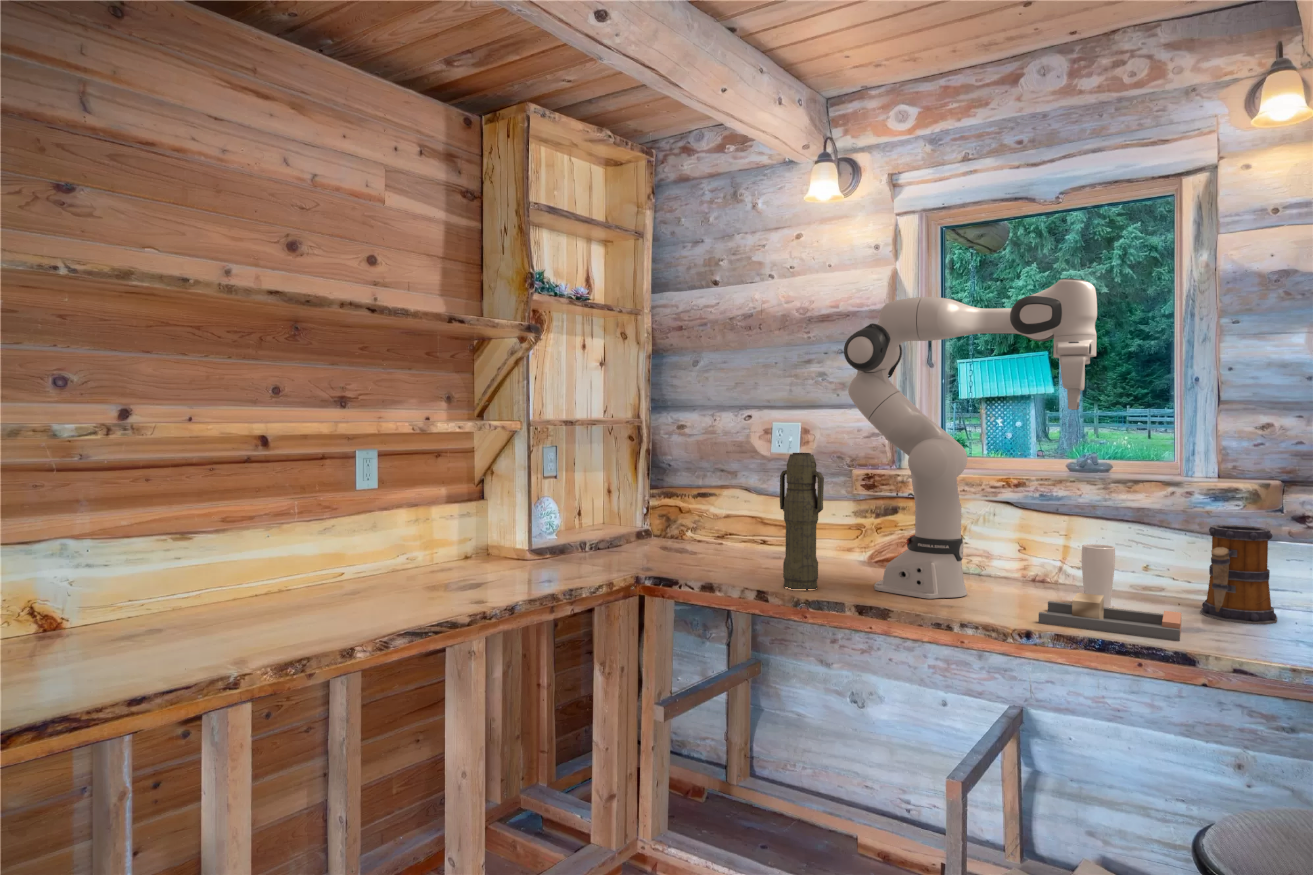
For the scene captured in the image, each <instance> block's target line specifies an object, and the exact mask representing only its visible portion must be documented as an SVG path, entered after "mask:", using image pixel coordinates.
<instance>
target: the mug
mask: <svg viewBox="0 0 1313 875" xmlns="http://www.w3.org/2000/svg"><path fill="white" fill-rule="evenodd" d="M1208 532H1209V535H1210V536H1211V540H1212V541H1211V550H1210V551H1211V557H1210V563H1211V564H1209V567H1208V568H1209V572H1208V573H1209V582H1208V588H1207V595H1206V596H1207V597H1206V599H1205V600H1204V601H1203V602H1202V604H1201V607H1202V608H1201V609H1200V611H1199V613H1200V614H1201V615H1203V616H1205V617H1207V618H1211V619H1215V620H1218V621H1222V622H1228V623H1229V622H1230V623H1235V624H1245V625H1263V626H1264V625H1266V626H1267V625H1271V624H1273V625H1274V624H1277V623H1278V617H1277V614H1276V613H1275V608H1274V607H1272V602H1271V592H1270V569H1269V568H1268V563H1269V562H1268V557H1269V555H1268V554H1269V552H1268V551H1269V541H1270V540H1272V538H1273V534H1272V533H1271V528H1267V527H1262V526H1255V525H1241V524H1211V526H1209V529H1208Z"/></svg>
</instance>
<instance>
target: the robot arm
mask: <svg viewBox="0 0 1313 875" xmlns="http://www.w3.org/2000/svg"><path fill="white" fill-rule="evenodd" d="M1097 318H1098V300H1097V290H1096V288H1095V286H1094V285H1093V284H1092V283H1091V282H1089V281H1087V280H1085V279H1080V278H1079V279H1078V278H1072V277H1071V278H1069V277H1067V278H1061V279H1059V280H1058V281H1056V282H1055V283H1054V284H1053V285H1051V286H1050V287H1048V288H1046V289H1044V290H1042V291H1038V292H1037V293H1032V294H1031V295H1030V294H1029V295H1027V296H1026V295H1025V296H1024V297H1022V298H1020V299H1018V300H1017V301H1016V302H1015V303H1014V304H1013V306H1011V307H1009V308H1007V307H1006V308H1004V307H1002V308H1001V307H1000V308H982V307H977V306H976V307H975V306H973V305H968V304H966V303H963V302H960V301H957V300H955V299H952V298H946V297H939V296H920V297H917V296H916V297H907V298H902V299H896V300H892V301H889V302H887V303H885V304H884V305H883V306H882V308H881V309H880V311H879V314H878V323H875V322H874V323H869V324H867V325H866V326H864V327H863V328H861V329H859V330H857V331H856V332H854V333H853V334H851V335H850V336H849V337H848V338H847V339H846V342H845V344H844V345H843V346H844V347H843V356H844V358H845V360H846V362H847V364H848V365H849V366H850V367H852V368H853V369H854V370H857V371H856V375H855V376H854V377H853V379H852V380H851V381H850V383H849V385H848V390H847V392H848V397H849V398H850V400H851V401H852V402H853V404H854V406H856V408H857V409H858V411H859V412H860V413H861V414H862V415H863V417H865V419H866V420H867V421H868V422H869V423H870V424H871V425H872V426H873V427H874V428H875V429H876V430H877V431H878V432H879V433H880V434H881V435H882V436H883V437H884V438H885V439H886V440H887V442H889V443H890V444H891V445H893V446H895V447H896V448H897V449H899V450H900V451H902V452H903V453H904V454H905V455H907V456H908V459H907V464H908V469H909V471H910V476H911V478H910V479H911V485H912V486H911V487H912V491H913V497H914V506H915V510H914V514H915V515H914V516H915V517H914V519H915V520H914V524H915V525H914V528H915V529H914V530H915V531H914V534H911V535H910V536H909V537H908V538H907V539H905V545H906V547H907V549H906V550H905V551H903V552H902V553H901V554H899V555H898V556H896V557H894V558H893V559H892V560H890V561H889V562H887V564H886V566H885V567H884V568H885V569H884V572H883V579H881V580H879V581H878V580H877V581H876V582H875V583H874V584H873V585H874V586H873V589H874V590H875V591H880V592H883V593H884V592H885V593H890V594H897V595H903V596H908V597H914V598H915V597H916V598H922V599H927V600H928V599H929V600H932V599H941V598H943V599H945V598H947V599H949V598H950V599H951V598H960V597H961V598H962V597H966V596H967V595H968V591H967V588H966V583H965V580H964V579H965V578H964V572H963V563H962V562H963V557H964V541H963V537H962V505H961V502H960V501H961V500H960V494H959V488H958V477H960V476H961V475H962V474H963V473H964V471H965V469H966V467H967V464H968V455H967V451H966V449H965V448H964V446H963V445H962V444H961V443H960V442H958V441H957V440H956V439H955V438H954V437H953V436H951V435H950V434H949V433H948V432H946V431H945V429H943V428H942V427H941V426H939V425H938V424H937V423H936V422H934V421H933V420H932V419H931V418H929V417H928V416H927V415H925V413H924V412H922V411H921V410H920V409H919V408H918V407H917V406H916V405H915V404H914V403H912V401H911V400H909V398H908V397H907V396H905V394H903V392H901V390H899V388H897V387H896V386H895V385H894V384H893V383H892V382H891V380H890V379H889V378H891V377H892V376H893V374H894V372H895V370H896V368H897V367H898V365H899V364H900V362H901V359H902V356H903V347H902V344H903V343H906V342H930V341H932V342H933V341H940V340H946V339H952V338H958V337H964V336H971V335H977V334H992V335H993V334H995V335H996V334H999V335H1000V334H1001V335H1002V334H1003V335H1006V334H1011V335H1012V334H1014V335H1020V336H1023V337H1026V338H1028V339H1030V340H1031V341H1036V342H1046V341H1050V340H1053V358H1055V359H1058V360H1059V363H1058V365H1060V374H1061V381H1062V382H1061V383H1062V387H1063V388H1064V389H1065V390H1066V391H1067V392H1066V393H1067V396H1066V397H1067V408H1068V409H1069V410H1071V411H1077V410H1079V409H1080V401H1081V391H1084V390H1085V384H1086V383H1085V382H1086V381H1085V380H1086V379H1085V378H1086V370H1085V369H1086V367H1085V365H1089V364H1091V358H1094V357H1097V342H1098V341H1097V340H1098V339H1097V338H1098V337H1097V336H1098V335H1097V331H1096V322H1097Z"/></svg>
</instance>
